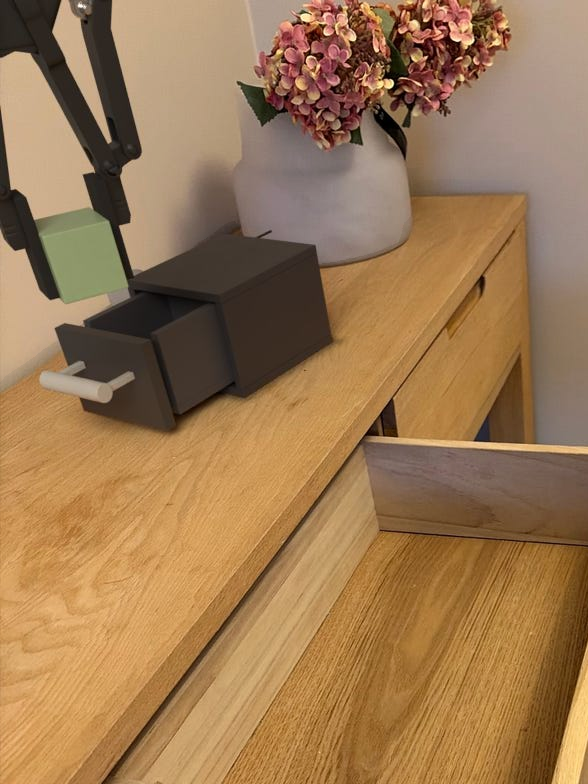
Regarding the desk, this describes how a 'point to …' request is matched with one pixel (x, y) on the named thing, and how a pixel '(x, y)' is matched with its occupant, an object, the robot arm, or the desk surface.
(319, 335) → the cabinet
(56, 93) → the robot arm
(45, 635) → the desk surface
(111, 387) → the drawer
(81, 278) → the block
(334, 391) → the desk surface
